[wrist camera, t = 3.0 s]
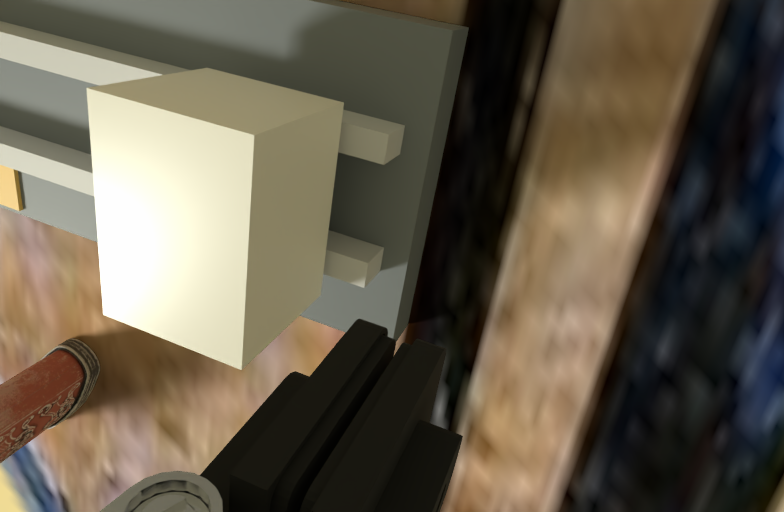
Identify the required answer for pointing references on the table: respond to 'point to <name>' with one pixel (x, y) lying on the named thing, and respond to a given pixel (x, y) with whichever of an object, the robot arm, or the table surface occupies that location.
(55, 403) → the lighter
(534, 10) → the table surface
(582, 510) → the table surface
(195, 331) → the fader knob
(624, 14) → the table surface
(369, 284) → the fader board
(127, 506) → the robot arm
